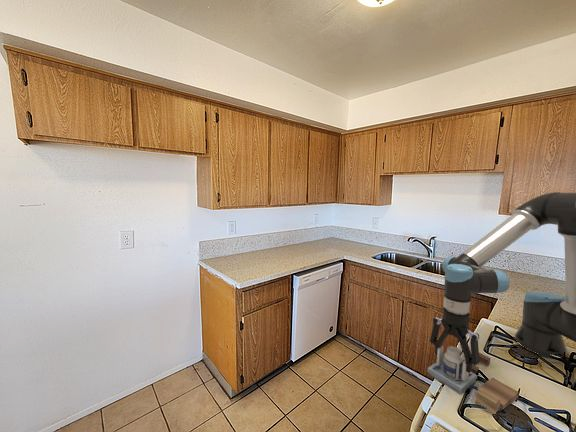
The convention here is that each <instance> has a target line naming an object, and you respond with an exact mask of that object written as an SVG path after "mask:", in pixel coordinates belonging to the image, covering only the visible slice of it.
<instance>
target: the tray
mask: <svg viewBox="0 0 576 432" xmlns="http://www.w3.org/2000/svg"><path fill="white" fill-rule="evenodd" d="M443 366H444V356H443V364H441V365H440V366H438V365H437V361H436V362H434V363H433V364H431V365H429V366H428V367H427V374H428V375H429V376H431V377H433V378H434V379H436V380H438V381H439V382H441V383H442V384H444V385H445V386H446V387H448V388H450V389H452V390H453V391H455V392H457V393H458V394H459V395H462V394H463V393H464V392H466V391H467V390H468V389H469V388H470V387H471V386H472V385H473V384H474V383H476V382H477V381H476V379H477V380H478V375H476V374H474V373H472V372H470V373H469V374H468V378H467V379H466V380H465V381H463V380H462V375H461V379H460V380H452V379H449V378H448V377H446V376H445V375H444V373H443ZM462 371H463V367H462ZM475 381H476V382H475ZM470 385H471V386H470ZM469 386H470V387H469ZM468 387H469V388H468ZM467 388H468V389H467Z"/></svg>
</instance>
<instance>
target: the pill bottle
mask: <svg viewBox="0 0 576 432" xmlns="http://www.w3.org/2000/svg"><path fill="white" fill-rule="evenodd" d="M461 353H462V351H461V350H460V348H457V347H456V346H451V345H449V346H447V347H446V351H445V352H444V353H443V357H444V366H443V373H444V375H445V376H446V377H448V378H449V379H452V380H460V379H461V375H462V360H463V358H462V356H461V355H462V354H461Z"/></svg>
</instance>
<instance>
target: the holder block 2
mask: <svg viewBox="0 0 576 432" xmlns="http://www.w3.org/2000/svg"><path fill="white" fill-rule="evenodd" d="M479 357H480V363H479V364H482V365H483V366H486V367H489V366H490V364H491V357H489V355H488V356H487V355H486V354H483V353H481V352H479Z"/></svg>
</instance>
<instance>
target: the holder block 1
mask: <svg viewBox="0 0 576 432" xmlns="http://www.w3.org/2000/svg"><path fill="white" fill-rule="evenodd" d="M464 361H465V358H462V367H463V362H464ZM478 370H479V371H480V367H479V366H477V365H476V366H475V365H472V371H471V372H472V373H474V374H476V372H477V371H478Z"/></svg>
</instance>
